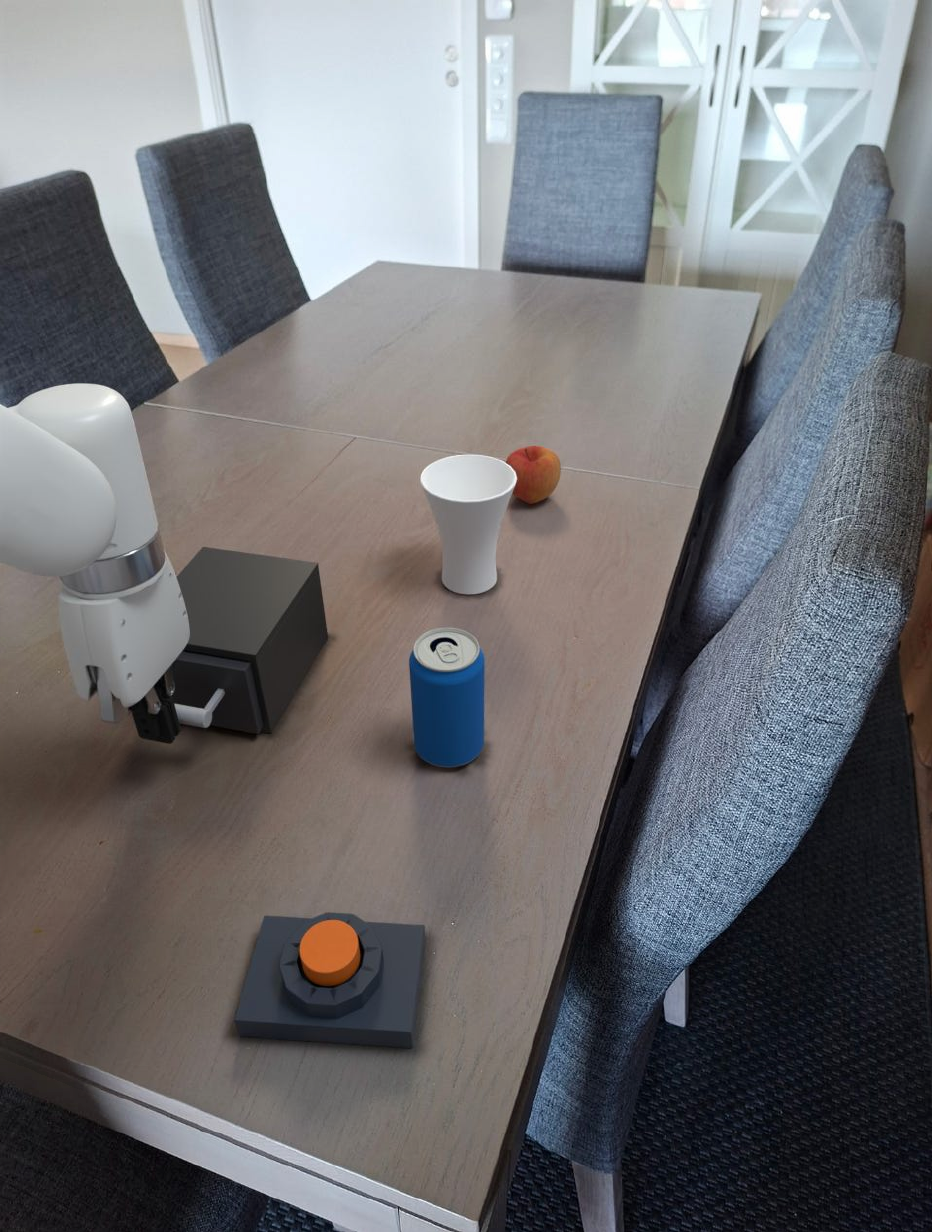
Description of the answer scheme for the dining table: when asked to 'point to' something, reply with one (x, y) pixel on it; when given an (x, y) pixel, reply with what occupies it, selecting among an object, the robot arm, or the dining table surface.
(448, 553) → the cup
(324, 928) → the button
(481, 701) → the beverage can
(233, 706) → the drawer
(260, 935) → the control block
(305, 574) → the black cabinet
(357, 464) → the dining table surface
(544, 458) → the apple
